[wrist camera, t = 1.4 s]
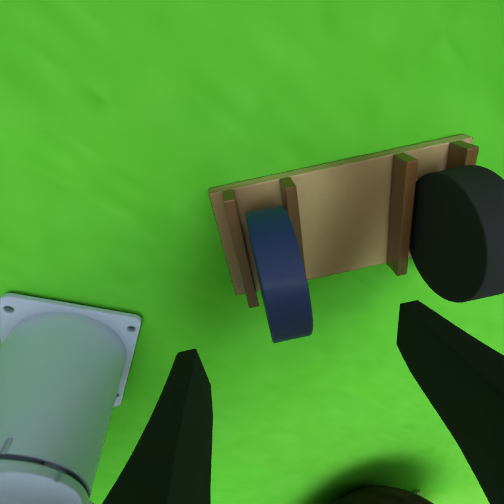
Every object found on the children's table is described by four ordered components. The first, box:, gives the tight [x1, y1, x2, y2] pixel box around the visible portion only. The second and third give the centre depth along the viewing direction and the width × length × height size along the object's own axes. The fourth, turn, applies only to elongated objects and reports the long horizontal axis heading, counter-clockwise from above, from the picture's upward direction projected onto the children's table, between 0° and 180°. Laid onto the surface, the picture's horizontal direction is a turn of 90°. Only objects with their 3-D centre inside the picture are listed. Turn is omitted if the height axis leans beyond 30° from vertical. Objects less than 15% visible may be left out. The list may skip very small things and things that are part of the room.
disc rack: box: [209, 134, 479, 308], centre depth 18 cm, size 14×7×2 cm, turn 101°
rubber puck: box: [409, 165, 504, 302], centre depth 16 cm, size 2×6×6 cm, turn 11°
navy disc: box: [245, 205, 313, 343], centre depth 16 cm, size 2×6×6 cm, turn 11°
